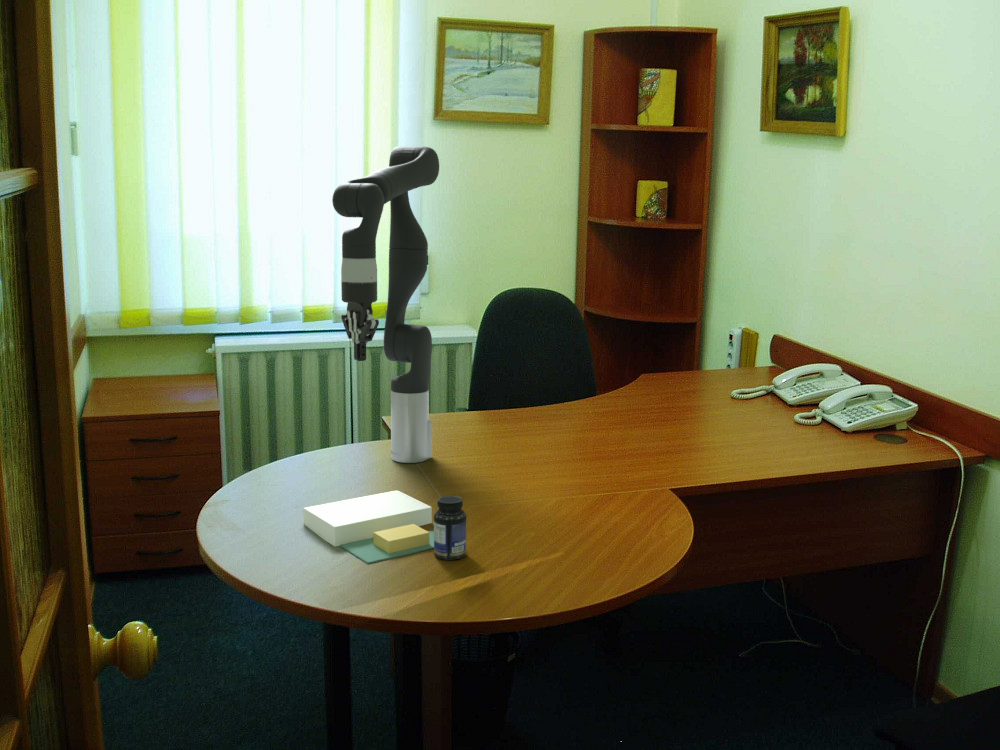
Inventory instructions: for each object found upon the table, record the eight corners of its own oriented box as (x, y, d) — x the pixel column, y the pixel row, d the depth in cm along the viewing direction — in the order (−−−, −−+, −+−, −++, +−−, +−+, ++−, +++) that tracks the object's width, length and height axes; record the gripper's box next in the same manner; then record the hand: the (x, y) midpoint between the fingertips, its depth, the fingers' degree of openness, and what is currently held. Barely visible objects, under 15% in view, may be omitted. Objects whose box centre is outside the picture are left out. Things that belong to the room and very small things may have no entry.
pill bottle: (466, 549, 184) (466, 494, 182) (466, 561, 178) (466, 504, 176) (434, 549, 184) (434, 494, 182) (433, 561, 178) (433, 504, 176)
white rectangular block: (397, 507, 208) (397, 490, 207) (431, 525, 197) (431, 507, 196) (303, 526, 195) (303, 507, 194) (334, 546, 184) (334, 526, 183)
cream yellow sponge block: (429, 532, 185) (429, 544, 185) (413, 523, 190) (413, 535, 190) (388, 541, 180) (388, 553, 180) (373, 532, 185) (373, 544, 185)
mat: (428, 527, 196) (428, 525, 196) (458, 542, 187) (458, 541, 187) (340, 546, 184) (340, 544, 184) (367, 563, 176) (367, 562, 176)
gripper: (390, 281, 199) (390, 363, 202) (360, 276, 209) (361, 354, 212) (358, 282, 194) (359, 366, 197) (329, 277, 205) (330, 357, 208)
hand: (360, 360), depth 205 cm, fingers closed
